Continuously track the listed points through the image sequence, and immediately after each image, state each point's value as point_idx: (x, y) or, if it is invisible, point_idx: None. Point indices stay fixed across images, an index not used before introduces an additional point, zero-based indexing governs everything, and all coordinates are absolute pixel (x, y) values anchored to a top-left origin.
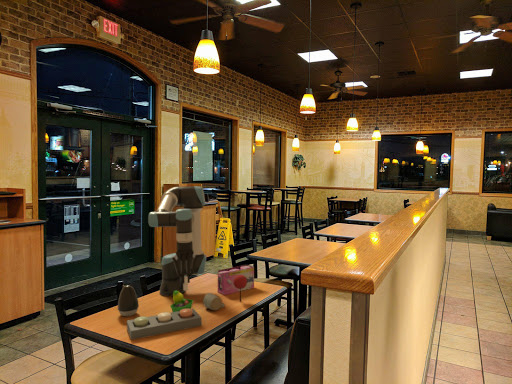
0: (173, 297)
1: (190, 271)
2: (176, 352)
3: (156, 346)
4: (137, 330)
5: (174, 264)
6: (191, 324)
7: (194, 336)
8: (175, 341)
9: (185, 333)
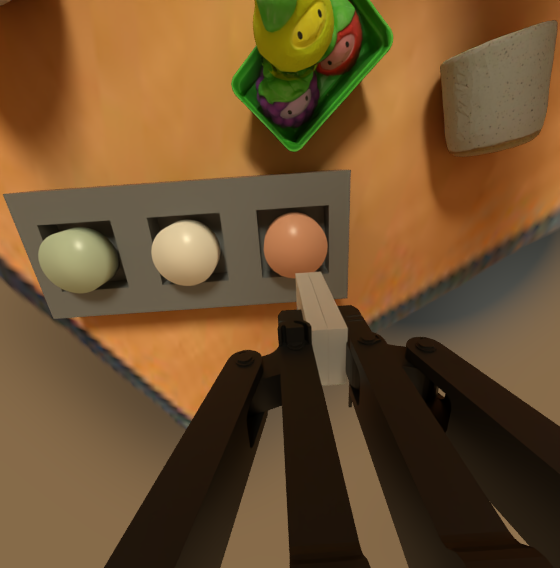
0: (254, 28)
1: (423, 369)
2: None
3: (167, 372)
4: (80, 315)
5: (128, 547)
6: None
7: None
8: None
9: (267, 323)
